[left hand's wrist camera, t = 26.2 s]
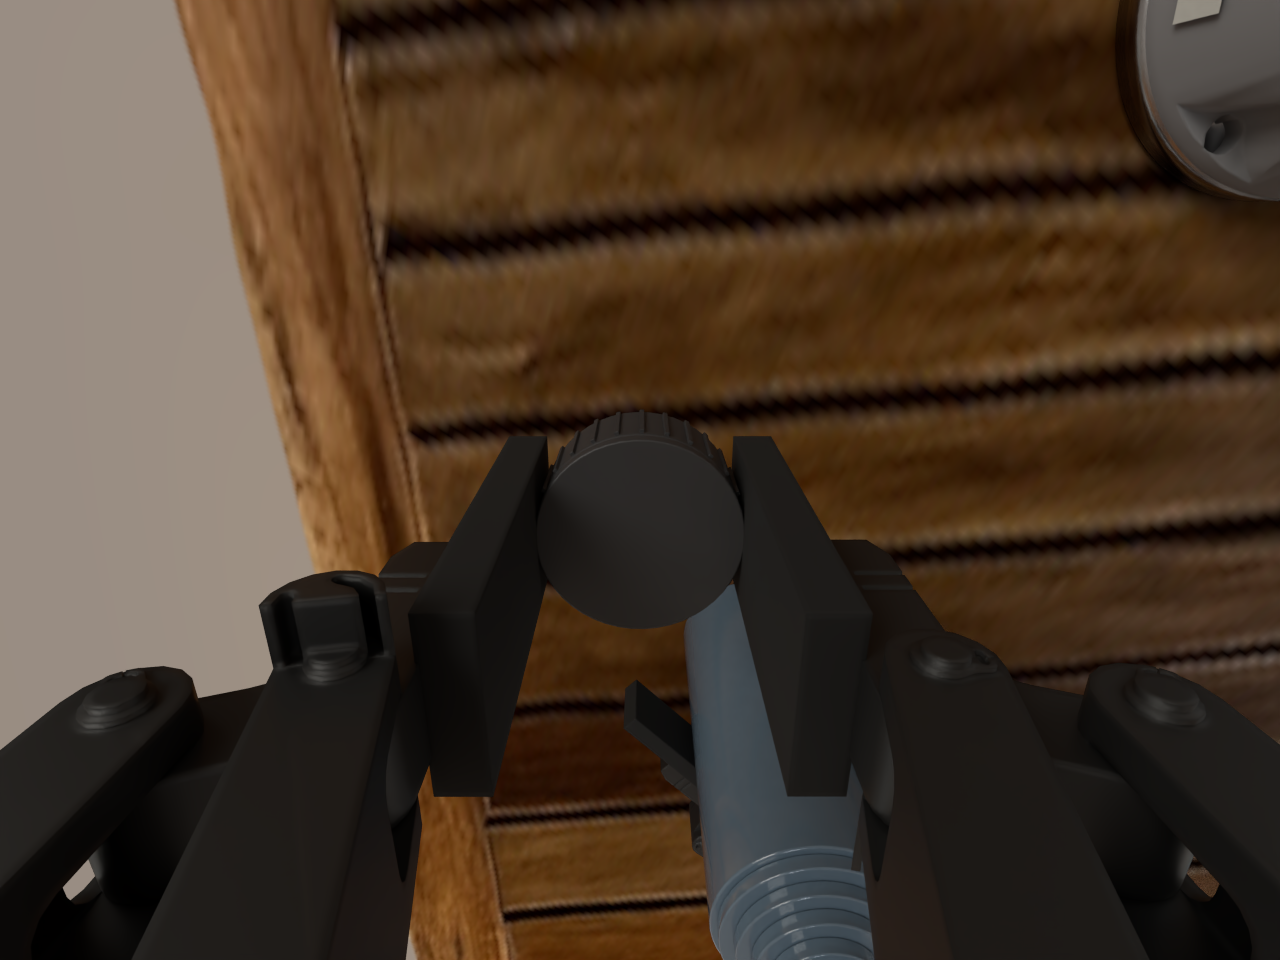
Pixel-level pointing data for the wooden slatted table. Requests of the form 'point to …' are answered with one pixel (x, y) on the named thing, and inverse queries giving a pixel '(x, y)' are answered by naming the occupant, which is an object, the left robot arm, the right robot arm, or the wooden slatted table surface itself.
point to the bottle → (765, 816)
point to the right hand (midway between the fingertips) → (690, 655)
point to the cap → (640, 521)
